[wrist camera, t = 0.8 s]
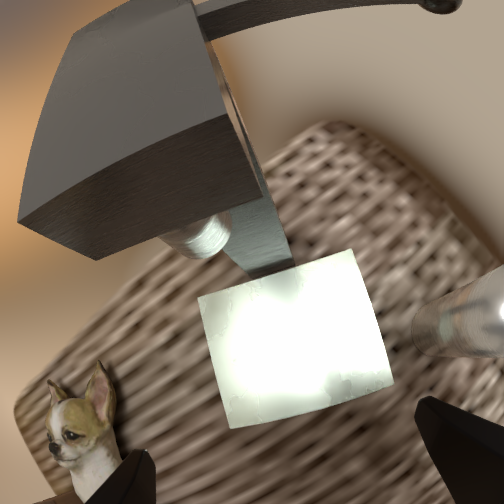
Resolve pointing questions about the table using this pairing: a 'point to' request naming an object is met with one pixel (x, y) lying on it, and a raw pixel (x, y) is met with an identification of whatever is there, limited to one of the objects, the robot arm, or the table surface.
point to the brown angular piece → (63, 499)
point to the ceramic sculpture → (85, 433)
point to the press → (200, 198)
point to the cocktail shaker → (464, 321)
